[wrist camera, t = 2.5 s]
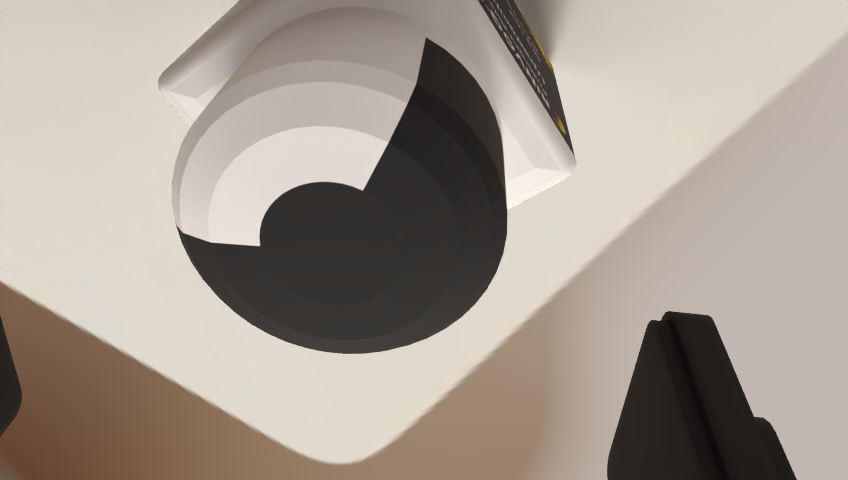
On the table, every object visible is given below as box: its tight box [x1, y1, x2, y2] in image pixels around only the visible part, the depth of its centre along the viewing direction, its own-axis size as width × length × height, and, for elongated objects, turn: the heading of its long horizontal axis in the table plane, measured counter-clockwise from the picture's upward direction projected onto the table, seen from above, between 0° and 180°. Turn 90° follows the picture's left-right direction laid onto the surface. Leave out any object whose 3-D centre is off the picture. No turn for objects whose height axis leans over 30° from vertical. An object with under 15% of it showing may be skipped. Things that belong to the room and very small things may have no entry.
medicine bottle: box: [158, 0, 576, 354], centre depth 18 cm, size 7×7×12 cm
